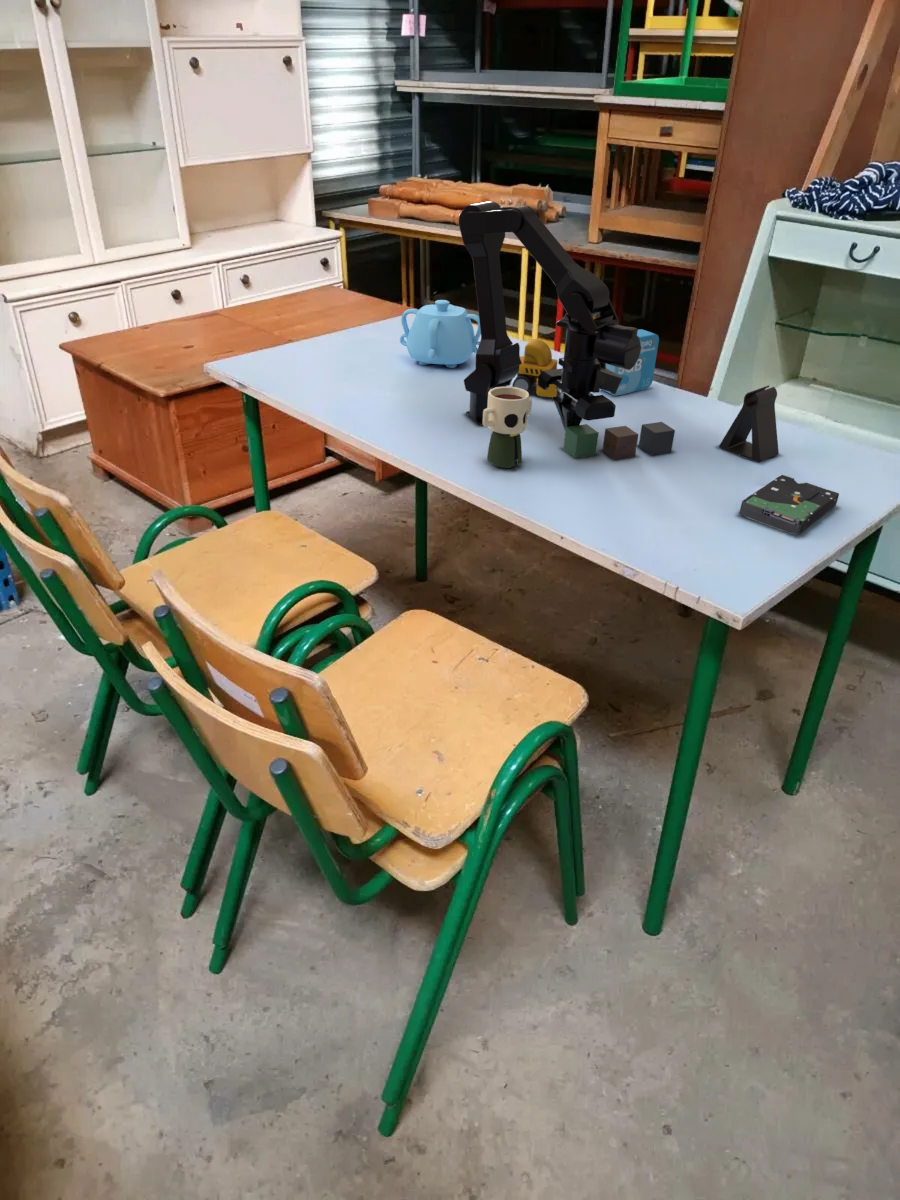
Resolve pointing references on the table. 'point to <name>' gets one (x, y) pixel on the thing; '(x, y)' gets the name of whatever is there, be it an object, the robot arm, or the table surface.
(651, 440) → the charcoal block
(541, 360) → the toy roller
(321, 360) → the table surface
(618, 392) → the data package
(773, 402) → the black triangular stand
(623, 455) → the walnut block
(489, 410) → the character mug
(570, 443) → the green block
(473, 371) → the robot arm
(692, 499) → the table surface
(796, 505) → the disk drive
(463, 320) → the decorative pot
